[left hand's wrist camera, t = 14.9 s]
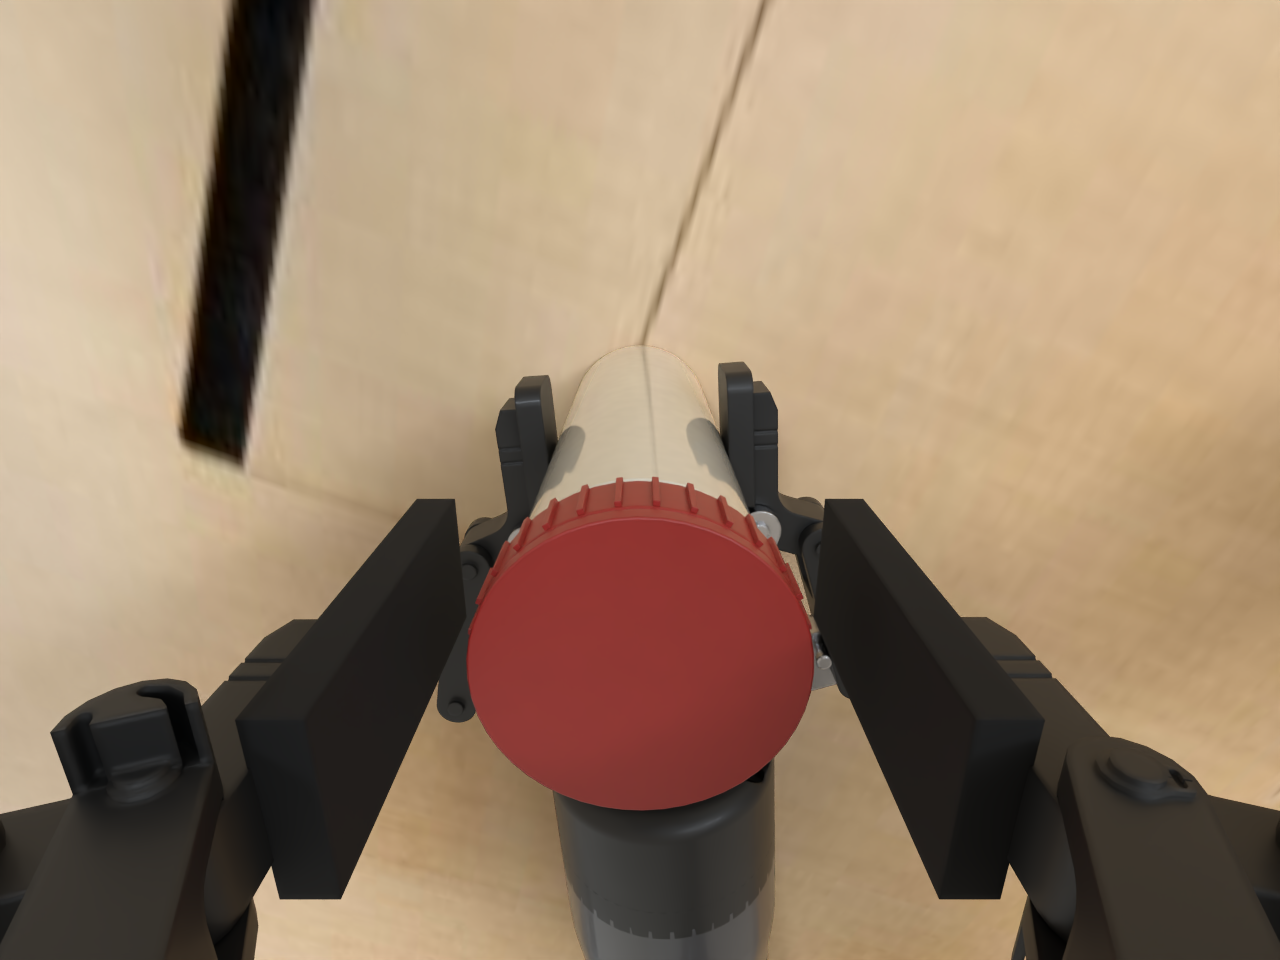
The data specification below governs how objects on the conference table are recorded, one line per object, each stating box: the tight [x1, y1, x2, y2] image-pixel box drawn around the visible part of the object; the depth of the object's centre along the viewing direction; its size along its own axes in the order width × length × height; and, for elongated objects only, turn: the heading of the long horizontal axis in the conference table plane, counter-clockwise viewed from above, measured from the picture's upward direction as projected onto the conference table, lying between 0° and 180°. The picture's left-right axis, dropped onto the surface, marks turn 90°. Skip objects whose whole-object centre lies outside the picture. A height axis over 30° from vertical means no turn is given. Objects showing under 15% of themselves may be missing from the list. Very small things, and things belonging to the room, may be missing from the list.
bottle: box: [529, 345, 751, 520], centre depth 18 cm, size 5×5×16 cm
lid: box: [466, 477, 814, 810], centre depth 11 cm, size 5×6×2 cm
